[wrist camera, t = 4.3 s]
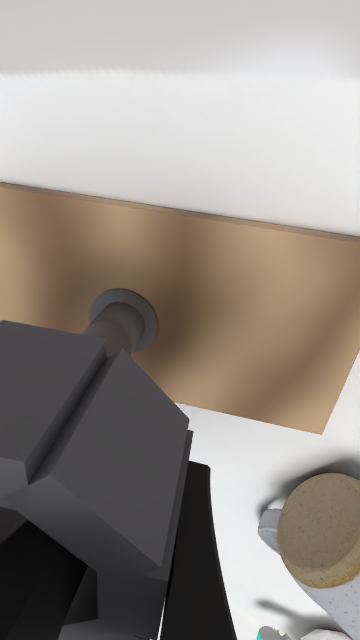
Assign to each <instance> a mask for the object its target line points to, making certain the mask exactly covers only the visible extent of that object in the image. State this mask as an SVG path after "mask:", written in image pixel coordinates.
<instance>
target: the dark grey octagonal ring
mask: <svg viewBox="0 0 360 640" xmlns="http://www.w3.org/2000/svg"><path fill="white" fill-rule="evenodd" d="M188 424H189V418H188V417H187V416H186V415H185V414H184V413H183V412H182V411H181V410H180V409H179V408H178V407H177V406H176V405H175V403H174V402H173V401H172V400H171V399H170V398H169V397H168V396H167V395H166V394H165V393H164V392H163V391H162V390H161V388H160V387H159V386H158V385H157V384H156V383H155V382H154V381H153V380H152V379H151V378H150V377H149V376H148V375H147V373H146V372H145V371H144V370H143V369H142V368H141V367H140V366H139V365H138V364H137V363H136V362H135V361H134V360H133V358H132V357H131V356H130V355H129V354H128V353H127V352H126V351H125V350H124V349H123V348H121V349H120V350H118V351H116V352H115V353H113V354H112V355H110V356H109V357H107V339H104V338H98V337H93V336H88V335H82V334H77V333H71V332H66V331H61V330H55V329H50V328H45V327H39V326H34V325H29V324H23V323H18V322H12V321H7V320H2V321H1V322H0V543H1V542H3V541H4V540H5V539H6V538H7V537H8V536H9V535H10V534H12V533H13V532H14V531H15V530H16V529H17V528H18V527H19V526H20V525H21V524H22V523H23V522H25V521H26V520H27V519H28V520H29V521H31V522H32V523H33V524H34V525H36V526H37V527H38V528H40V529H41V530H42V531H44V532H45V533H46V534H48V535H49V536H50V537H52V538H53V539H54V540H55V541H57V542H58V543H59V544H61V545H62V546H63V547H65V548H66V549H67V550H69V551H70V552H71V553H73V554H74V555H75V556H76V557H78V558H79V559H80V560H82V561H83V562H84V563H86V564H87V565H88V567H87V570H86V572H85V574H84V576H83V579H82V581H81V583H80V585H79V588H78V590H77V592H76V594H75V596H74V599H73V601H72V603H71V606H70V608H69V611H68V613H67V616H66V618H65V621H64V624H63V626H62V629H61V632H60V635H59V637H58V640H150V639H152V640H157V638H158V632H159V627H160V622H161V617H162V611H163V606H164V601H165V596H166V590H167V585H168V580H169V574H170V568H171V562H172V556H173V550H174V544H175V538H176V532H177V526H178V520H179V514H180V508H181V502H182V496H183V490H184V485H185V479H186V473H187V467H188V461H189V455H190V449H191V443H192V437H193V431H191V430H187V429H188Z"/></svg>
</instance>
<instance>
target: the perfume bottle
mask: <svg viewBox="0 0 360 640" xmlns="http://www.w3.org/2000/svg"><path fill="white" fill-rule="evenodd" d="M278 632H279V630H277V631H276V630H275V629H273V628H271V627H269V626H263V627H261V628H260V629H259V632H258V635H257V640H291V639H290V638H289V636H288V635H287V634H285V635H284V636H281V635H280V634H279V633H278ZM300 640H351V639H350V638H349V637H348V636H346V635H345V634H344V633H342V632H336V631H330V630H323V629H315V630H314V631H312V632H310V633H309V634H307V635H305V636H304V637H302V638H301V639H300Z"/></svg>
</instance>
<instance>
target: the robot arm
mask: <svg viewBox="0 0 360 640" xmlns="http://www.w3.org/2000/svg"><path fill="white" fill-rule="evenodd" d="M210 470H211V469H210V467H209V466H208V465H204V464H200V463H196V462H192V461H188V467H187V473H186V479H185V485H184V490H183V496H182V502H181V508H180V514H179V520H178V526H177V532H176V538H175V544H174V550H173V556H172V562H171V568H170V574H169V580H168V585H167V590H166V596H165V604H164V612H163V620H162V628H161V635H160V640H237V637H236V633H235V629H234V625H233V622H232V618H231V613H230V609H229V605H228V600H227V596H226V591H225V587H224V582H223V577H222V572H221V567H220V562H219V556H218V550H217V544H216V537H215V531H214V524H213V516H212V506H211V493H210ZM87 567H88V565H87V564H86V563H84V562H83V561H82V560H80V559H79V558H78V557H76V556H75V555H74V554H73V553H71V552H70V551H69V550H67V549H66V548H65V547H63V546H62V545H61V544H59V543H58V542H57V541H55V540H54V539H53V538H52V537H50V536H49V535H48V534H46V533H45V532H44V531H42V530H41V529H40V528H38V527H37V526H36V525H34V524H33V523H32V522H31V521H29V520H28V519H27V520H26V521H25V522H23V523H22V524H21V525H20V526H19V527H18V528H17V529H16V530H15V531H14V532H13V533H12V534H10V535H9V536H8V537H7V538H6V539H5V540H4V541H3V542H1V543H0V640H58V637H59V635H60V632H61V629H62V626H63V624H64V621H65V618H66V616H67V613H68V611H69V608H70V606H71V603H72V601H73V599H74V596H75V594H76V592H77V590H78V588H79V585H80V583H81V581H82V579H83V576H84V574H85V572H86V570H87Z"/></svg>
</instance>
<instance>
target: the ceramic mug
mask: <svg viewBox="0 0 360 640" xmlns="http://www.w3.org/2000/svg"><path fill="white" fill-rule="evenodd" d="M258 534H259V536H260V537H261V539H262V540H263V541H264V542H265V543H266V544H267V545H268V546H269V547H270V548H271V549H273V550H274V551H275V552H276V553H278V554H279V555H280V556H281V558H282V560H283V562H284V564H285V566H286V568H287V569H288V571H289V572H290V574H291V575H292V577H293V578H294V580H295V581H296V582H297V584H298V585H299V586H300V587H301V588H302V589H303V590H304V591H305V592H306V594H307V595H308V596H309V597H310V598H312V599H313V600H314V601H315V602H316V603H317V604H318V605H319V606H320V607H321V608H323V609H324V610H325V611H326V612H327V613H328V614H329V615H330V616H331V617H332V618H333V619H334V620H335V621H336V622H337V623H338V624H339V625H340V626H341V627H342V628H343V629H344V630H345V631H346V632H347V633H348V634H349V636H350V637H351V638H352V639H353V640H360V481H359V480H357V479H355V478H353V477H350V476H348V475H345V474H341V473H324V474H319V475H316V476H314V477H311V478H309V479H307V480H306V481H304V482H302V483H301V484H300V485H299V486H298V487H297V488H295V489H294V490H293V491H292V493H291V494H290V495H289V497H288V498H287V500H286V501H285V503H284V505H283V508H282V509H269V510H268V509H267V510H265V511H264V513H263V515H262V517H261V520H260V523H259V527H258Z"/></svg>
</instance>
